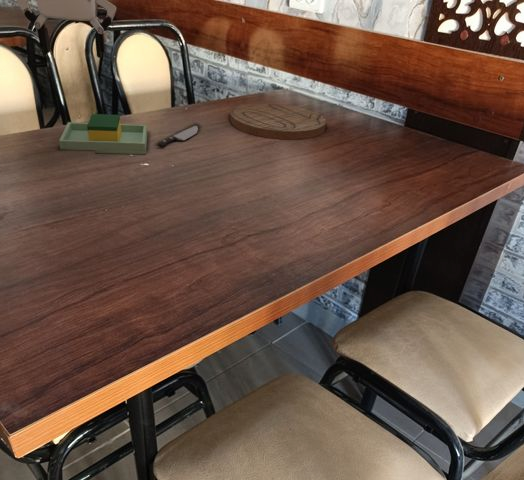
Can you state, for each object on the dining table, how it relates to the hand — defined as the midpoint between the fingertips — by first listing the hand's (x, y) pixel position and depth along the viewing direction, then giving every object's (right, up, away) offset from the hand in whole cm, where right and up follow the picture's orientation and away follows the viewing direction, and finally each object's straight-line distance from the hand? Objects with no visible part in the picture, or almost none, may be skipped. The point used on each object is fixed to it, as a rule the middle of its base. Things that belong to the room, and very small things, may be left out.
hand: (73, 54), depth 98 cm
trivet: (+41, +2, +35) cm, 54 cm away
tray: (+2, -11, +14) cm, 18 cm away
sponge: (+2, -11, +14) cm, 18 cm away
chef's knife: (+18, -7, +21) cm, 28 cm away
